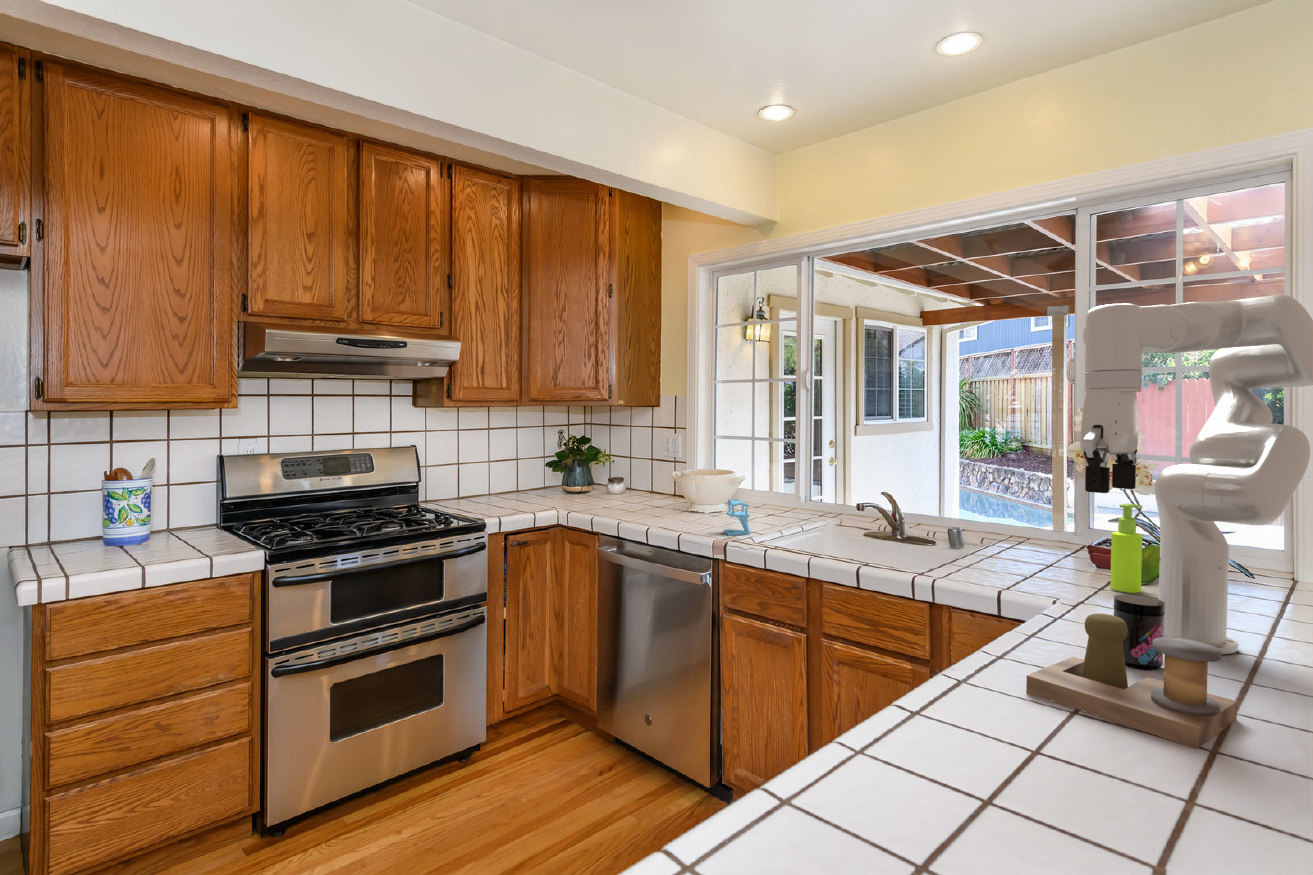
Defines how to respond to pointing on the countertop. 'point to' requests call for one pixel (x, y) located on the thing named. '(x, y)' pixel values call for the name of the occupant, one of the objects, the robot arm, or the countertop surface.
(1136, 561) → the soap dispenser
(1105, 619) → the olive pepper mill
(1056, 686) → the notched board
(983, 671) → the countertop surface
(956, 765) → the countertop surface
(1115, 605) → the supplement container
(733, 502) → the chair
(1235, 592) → the countertop surface
